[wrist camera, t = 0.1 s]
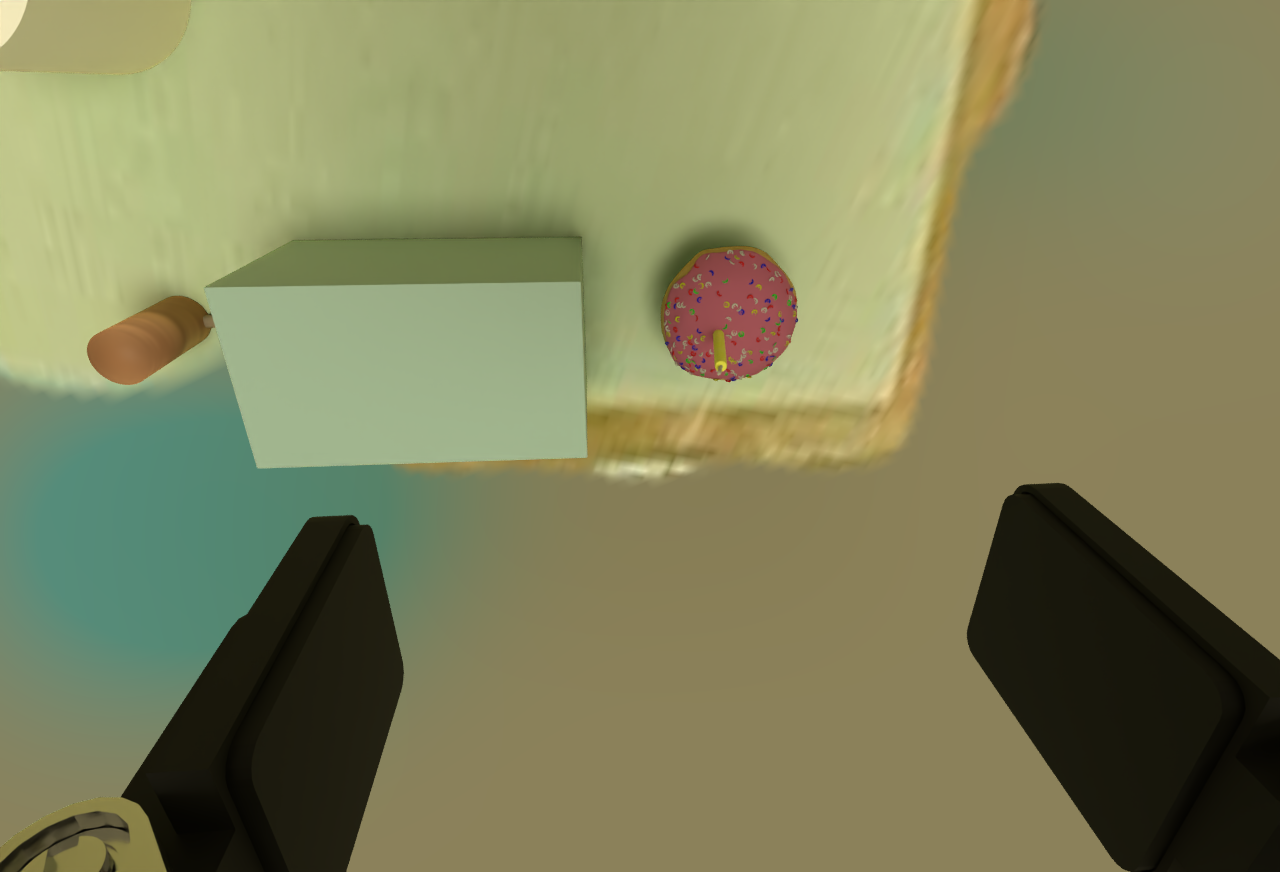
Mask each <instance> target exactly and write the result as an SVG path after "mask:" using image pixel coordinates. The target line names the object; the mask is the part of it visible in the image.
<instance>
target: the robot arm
mask: <svg viewBox="0 0 1280 872" xmlns="http://www.w3.org/2000/svg"><path fill="white" fill-rule="evenodd" d="M967 640H968V645H969V648H970V651H971V653H972V654H973V656H974V657H975V659H976V660H977V662H978V663H979V665H980V666H981V668H982V669H983V671H984V672H985V674H986V675H987V676H988V678H989V679H990V681H991V682H992V684H993V685H994V687H995V688H996V690H997V691H998V693H999V694H1000V695H1001V697H1002V698H1003V700H1004V701H1005V703H1006V704H1007V706H1008V707H1009V709H1010V710H1011V712H1012V713H1013V714H1014V716H1015V717H1016V719H1017V720H1018V722H1019V723H1020V725H1021V726H1022V728H1023V729H1024V730H1025V732H1026V734H1027V735H1028V736H1029V738H1030V739H1031V741H1032V742H1033V744H1034V745H1035V746H1036V748H1037V750H1038V751H1039V752H1040V754H1041V755H1042V757H1043V758H1044V760H1045V761H1046V763H1047V764H1048V766H1049V767H1050V769H1051V770H1052V772H1053V773H1054V774H1055V776H1056V777H1057V779H1058V780H1059V782H1060V783H1061V785H1062V786H1063V788H1064V789H1065V791H1066V792H1067V793H1068V795H1069V796H1070V798H1071V799H1072V801H1073V802H1074V804H1075V805H1076V807H1077V808H1078V810H1079V811H1080V812H1081V814H1082V815H1083V817H1084V818H1085V820H1086V821H1087V823H1088V824H1089V826H1090V827H1091V829H1092V830H1093V831H1094V833H1095V834H1096V836H1097V837H1098V839H1099V840H1100V842H1101V843H1102V845H1103V846H1104V848H1105V849H1106V850H1107V852H1108V853H1109V855H1110V856H1111V858H1112V859H1113V860H1114V861H1115V862H1116V864H1117V865H1119V866H1120V867H1121V868H1122V869H1124V870H1127V871H1130V872H1280V660H1279V659H1278V658H1277V657H1276V656H1274V655H1273V654H1272V653H1271V652H1270V651H1268V650H1267V649H1266V648H1265V647H1263V646H1262V645H1261V644H1260V643H1259V642H1258V641H1256V640H1255V639H1254V638H1252V637H1251V636H1250V635H1249V634H1248V633H1247V632H1245V631H1244V630H1243V629H1242V628H1241V627H1239V626H1238V625H1237V624H1236V623H1234V622H1233V621H1232V620H1231V619H1230V618H1228V617H1227V616H1226V615H1225V614H1224V613H1222V612H1221V611H1220V610H1219V609H1217V608H1216V607H1215V606H1214V605H1213V604H1211V603H1210V602H1209V601H1208V600H1206V599H1205V598H1204V597H1203V596H1202V595H1200V594H1199V593H1198V592H1197V591H1196V590H1194V589H1193V588H1192V587H1191V586H1189V585H1188V584H1187V583H1186V582H1185V581H1183V580H1182V579H1181V578H1180V577H1179V576H1177V575H1176V574H1175V573H1174V572H1172V571H1171V570H1170V569H1169V568H1167V567H1166V566H1165V565H1164V564H1163V563H1162V562H1160V561H1159V560H1158V559H1157V558H1155V557H1154V556H1153V555H1152V554H1151V553H1149V552H1148V551H1147V550H1146V549H1145V548H1143V547H1142V546H1141V545H1140V544H1138V543H1137V542H1136V541H1135V540H1134V539H1132V538H1131V537H1130V536H1129V535H1127V534H1126V533H1125V532H1124V531H1122V530H1121V529H1120V528H1119V527H1118V526H1117V525H1115V524H1114V523H1113V522H1112V521H1111V520H1109V519H1108V518H1107V517H1106V516H1104V515H1103V514H1102V513H1101V512H1100V511H1098V510H1097V509H1096V508H1095V507H1094V506H1092V505H1091V504H1090V503H1089V502H1087V501H1086V500H1085V499H1084V498H1083V497H1081V496H1080V495H1079V494H1078V493H1076V492H1075V491H1074V490H1073V489H1072V488H1070V487H1069V486H1067V485H1065V484H1061V483H1050V484H1049V483H1048V484H1027V485H1022V486H1019V487H1018V488H1017V489H1016V491H1015V492H1014V494H1013V495H1010V496H1008V497H1007V498H1006V499H1005V501H1004V503H1003V506H1002V510H1001V513H1000V517H999V520H998V524H997V527H996V531H995V534H994V538H993V541H992V545H991V548H990V552H989V555H988V559H987V562H986V566H985V570H984V573H983V576H982V580H981V583H980V587H979V590H978V594H977V597H976V601H975V604H974V608H973V611H972V615H971V618H970V622H969V626H968V630H967ZM403 674H404V670H403V661H402V656H401V652H400V648H399V643H398V639H397V635H396V630H395V626H394V621H393V617H392V613H391V608H390V604H389V600H388V595H387V591H386V587H385V582H384V578H383V573H382V569H381V565H380V561H379V556H378V552H377V547H376V543H375V538H374V534H373V531H372V528H371V527H370V526H369V525H360V524H359V521H358V520H357V518H356V517H355V516H353V515H346V516H323V517H312V518H309V520H308V521H307V522H306V523H305V525H304V526H303V528H302V529H301V531H300V533H299V534H298V536H297V537H296V539H295V540H294V542H293V543H292V545H291V546H290V548H289V550H288V551H287V553H286V554H285V556H284V557H283V559H282V561H281V562H280V564H279V565H278V567H277V568H276V570H275V571H274V573H273V575H272V576H271V578H270V579H269V581H268V583H267V584H266V586H265V587H264V589H263V590H262V592H261V594H260V595H259V596H258V598H257V600H256V601H255V603H254V604H253V606H252V607H251V609H250V610H249V612H248V614H247V615H245V616H243V617H241V618H239V619H238V620H237V622H236V623H235V624H234V625H233V626H232V627H231V629H230V631H229V632H228V634H227V635H226V637H225V638H224V640H223V641H222V643H221V645H220V646H219V648H218V649H217V650H216V652H215V654H214V655H213V657H212V658H211V660H210V661H209V663H208V664H207V666H206V667H205V669H204V670H203V672H202V673H201V675H200V676H199V678H198V679H197V681H196V683H195V684H194V686H193V687H192V689H191V690H190V692H189V693H188V695H187V696H186V698H185V699H184V701H183V702H182V704H181V705H180V707H179V709H178V710H177V712H176V713H175V715H174V716H173V718H172V719H171V721H170V722H169V724H168V725H167V727H166V728H165V730H164V731H163V733H162V734H161V736H160V738H159V739H158V741H157V742H156V744H155V745H154V747H153V748H152V750H151V751H150V753H149V754H148V756H147V757H146V759H145V761H144V762H143V764H142V765H141V767H140V768H139V770H138V771H137V773H136V774H135V776H134V777H133V779H132V780H131V782H130V783H129V785H128V787H127V788H126V790H125V791H124V793H123V794H122V796H121V797H98V798H94V799H90V800H86V801H82V802H78V803H74V804H71V805H69V806H67V807H64V808H62V809H60V810H58V811H55V812H53V813H51V814H49V815H46V816H44V817H42V818H41V819H39V820H38V821H36V822H35V823H33V824H31V825H30V826H28V827H27V828H25V829H23V830H22V831H20V832H19V833H17V834H15V835H14V836H13V837H12V838H11V839H10V840H8V841H7V842H6V843H5V844H4V845H2V846H1V847H0V872H346V870H347V867H348V864H349V861H350V857H351V854H352V850H353V847H354V844H355V841H356V837H357V834H358V831H359V828H360V824H361V821H362V818H363V814H364V811H365V808H366V805H367V801H368V798H369V795H370V791H371V788H372V785H373V782H374V778H375V775H376V772H377V768H378V765H379V762H380V758H381V755H382V752H383V749H384V745H385V742H386V739H387V736H388V732H389V729H390V726H391V722H392V719H393V716H394V713H395V709H396V706H397V703H398V699H399V696H400V693H401V689H402V685H403Z"/></svg>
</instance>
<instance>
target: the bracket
mask: <svg viewBox="0 0 1280 872" xmlns="http://www.w3.org/2000/svg"><path fill="white" fill-rule="evenodd" d="M190 10H191V0H0V71H20V72H51V73H82V74H113V75H125V74H134V73H138V72H142V71H145V70H148V69H150V68H152V67H154V66H156V65H158V64H159V63H161V62H162V61H164V60H165V59H166V58H167V57H168V56H169V55H171V53H172V52H173V51H174V50H175V49H176V47H177V46H178V44H179V43H180V41H181V39H182V37H183V35H184V33H185V30H186V28H187V25H188V21H189V16H190Z"/></svg>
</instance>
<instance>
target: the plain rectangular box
mask: <svg viewBox="0 0 1280 872" xmlns="http://www.w3.org/2000/svg"><path fill="white" fill-rule="evenodd" d="M204 290H205V294H206V297H207V301H208V304H209V307H210V311H211V314H212V317H213V321H214V324H215V327H216V331H217V334H218V337H219V341H220V344H221V348H222V351H223V354H224V358H225V361H226V364H227V368H228V371H229V374H230V378H231V381H232V385H233V388H234V391H235V395H236V398H237V401H238V405H239V408H240V411H241V415H242V418H243V421H244V425H245V428H246V432H247V435H248V438H249V441H250V445H251V448H252V452H253V455H254V458H255V462H256V465H257V468H280V467H281V468H284V467H312V466H313V467H314V466H342V465H343V466H344V465H375V464H406V463H436V462H467V461H497V460H527V459H558V458H587V376H586V349H585V321H584V293H583V265H582V238H581V237H545V238H457V239H369V240H293V241H291V242H289V243H287V244H285V245H283V246H281V247H280V248H278V249H276V250H274V251H272V252H270V253H268V254H266V255H264V256H263V257H261V258H259V259H257V260H255V261H253V262H251V263H249V264H247V265H246V266H244V267H242V268H240V269H238V270H236V271H234V272H232V273H230V274H228V275H227V276H225V277H223V278H221V279H219V280H217V281H215V282H213V283H211V284H210V285H208V286H206V287H204Z"/></svg>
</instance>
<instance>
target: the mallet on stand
mask: <svg viewBox="0 0 1280 872" xmlns="http://www.w3.org/2000/svg"><path fill="white" fill-rule="evenodd" d="M211 328H216V327H215V324H214V321H213V317H212V315H208V314H207V312H206V311H205V310H204V308H203V307H202V306H201V305H200V304H198V303H197V302H195V301H194V300H192V299H189V298H187V297H183V296H172V297H169V298H166V299H164V300H163V301H161V302H159V303H157V304H155V305H153V306H151V307H149V308H147V309H145V310H143V311H141V312H139V313H137V314H135V315H133V316H131V317H129V318H127V319H125V320H123V321H121V322H119V323H117V324H115V325H113V326H111V327H109V328H107V329H105V330H103V331H102V332H100V333H98V334H96V335H94V336H93V337H92V338H91V339H90V341H89V343H88V346H87V354H88V358H89V360H90V362H91V364H92V366H93V367H94V368H95V369H96V370H97V372H98V373H100V374H101V375H102V376H103V377H105V378H107V379H108V380H110V381H113V382H115V383H119V384H124V385H132V384H137V383H139V382H141V381H143V380H144V379H146V378H147V377H149V376H150V375H152V374H153V373H155V372H156V371H158V370H159V369H161V368H162V367H164V366H165V365H167V364H168V363H170V362H171V361H173V360H174V359H176V358H177V357H179V356H180V355H182V354H183V353H185V352H186V351H188V350H189V349H191V348H192V347H194V346H195V345H197V344H198V343H200V342H201V341H203V340H204V339H206V337H207V336H208V335H209V333H210V330H211Z"/></svg>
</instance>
